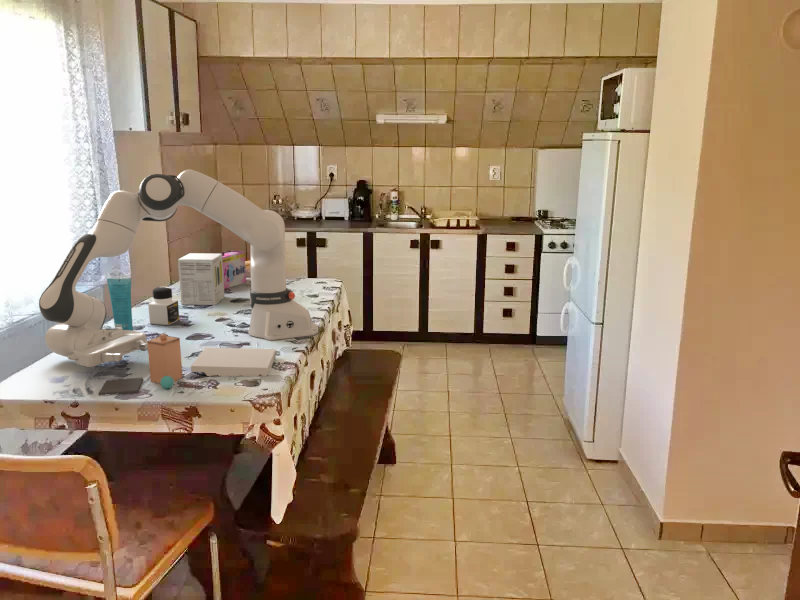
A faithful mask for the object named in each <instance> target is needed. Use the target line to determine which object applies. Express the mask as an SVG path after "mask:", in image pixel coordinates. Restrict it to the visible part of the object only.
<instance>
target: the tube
mask: <svg viewBox="0 0 800 600" xmlns="http://www.w3.org/2000/svg"><path fill="white" fill-rule="evenodd" d="M106 282H107V287H108V291H109V298H110V303H111V311H112V316H113V317H112V318H113V323H114V328H115V327H121V328H122V329H123V330H131V331H134V330H133V313H132V312H133V310H132V278H106Z"/></svg>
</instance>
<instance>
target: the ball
mask: <svg viewBox="0 0 800 600" xmlns="http://www.w3.org/2000/svg"><path fill="white" fill-rule="evenodd" d="M159 384H160V385H161V387H162V388H163V389H166V390H167V389H168V390H169V389H170V388H172V387H173V386H174V384H175V381H174V380H173V378H172V377H170V376H164V377H163V378H162V379H161V381H160V383H159Z"/></svg>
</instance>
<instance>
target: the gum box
mask: <svg viewBox="0 0 800 600" xmlns="http://www.w3.org/2000/svg"><path fill="white" fill-rule="evenodd" d="M217 254H222V263H223V280H224V290H226V289H229V288H232V287H235V286H238V285H242V284H245V283H247V274H246V253H245V251H241V250H232V249H231V250H225V251H221V252H217Z"/></svg>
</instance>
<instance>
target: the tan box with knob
mask: <svg viewBox="0 0 800 600" xmlns="http://www.w3.org/2000/svg"><path fill="white" fill-rule="evenodd" d="M180 339H181V338H180V337H176V336H171V335H167V334H166V333H161V334H160V335H159V336H157V337H154V338H152V339H149V340H147V345H148V350H147V354H148V364H149V365H148V366H149V378H150V382H152V383H157V384H160V381H161V379H162V378H163V377H164V376H170V377H172V378H173V380H174V382H176V381H178V379H179V380H180V378H181V379H183V378H182V377H183V364H182V354H181V353H182V352H181V341H180Z"/></svg>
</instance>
